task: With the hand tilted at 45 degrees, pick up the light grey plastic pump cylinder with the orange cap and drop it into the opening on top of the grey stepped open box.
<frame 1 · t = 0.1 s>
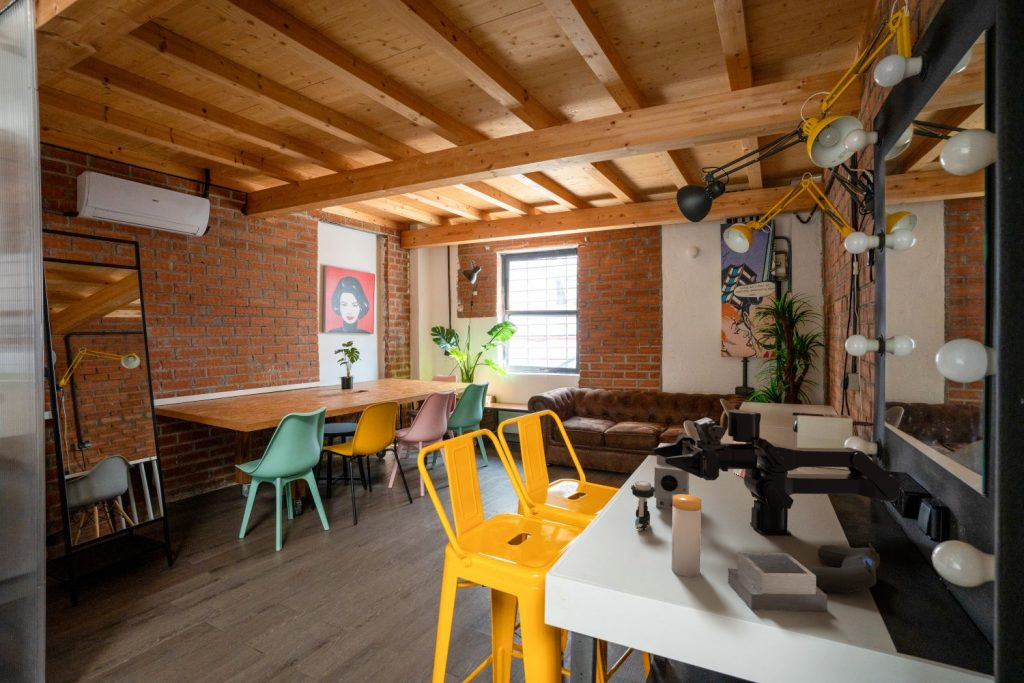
hand: (659, 455, 116), 17 cm above the table, tool horizontal, fingers open, 9 cm apart
gaming controller: (843, 582, 92), on the table
push button: (641, 529, 117), on the table
grey stepped open box: (774, 596, 86), on the table
pump: (685, 570, 96), on the table
circuit breaker: (671, 509, 131), on the table
ink cartridge box: (747, 477, 161), on the table
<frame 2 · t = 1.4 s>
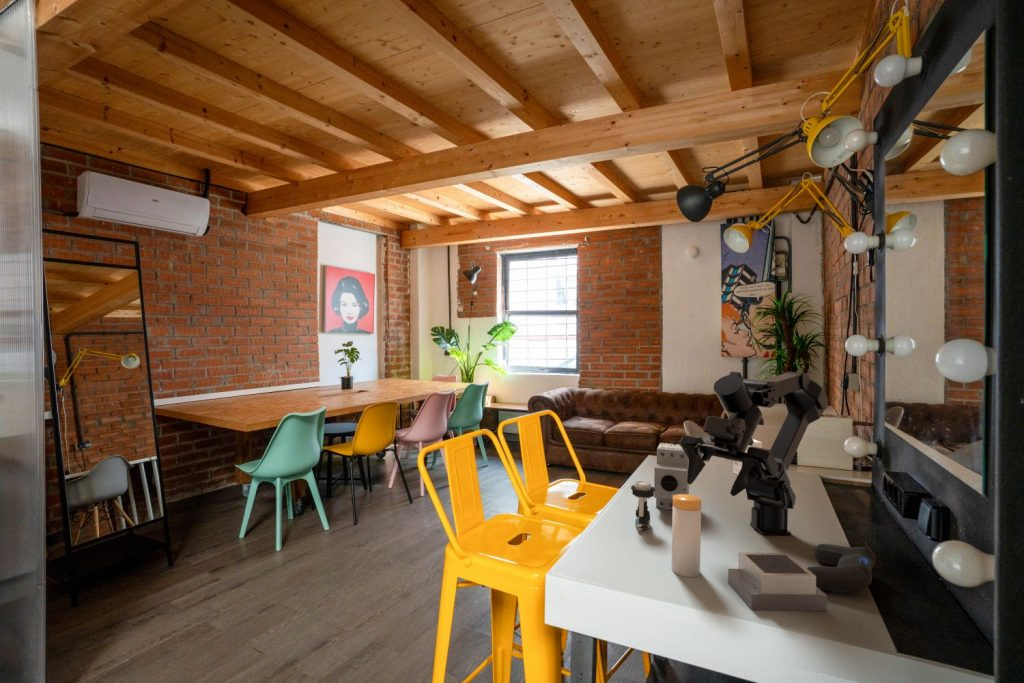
hand: (709, 488, 101), 14 cm above the table, tool tilted 45°, fingers open, 9 cm apart
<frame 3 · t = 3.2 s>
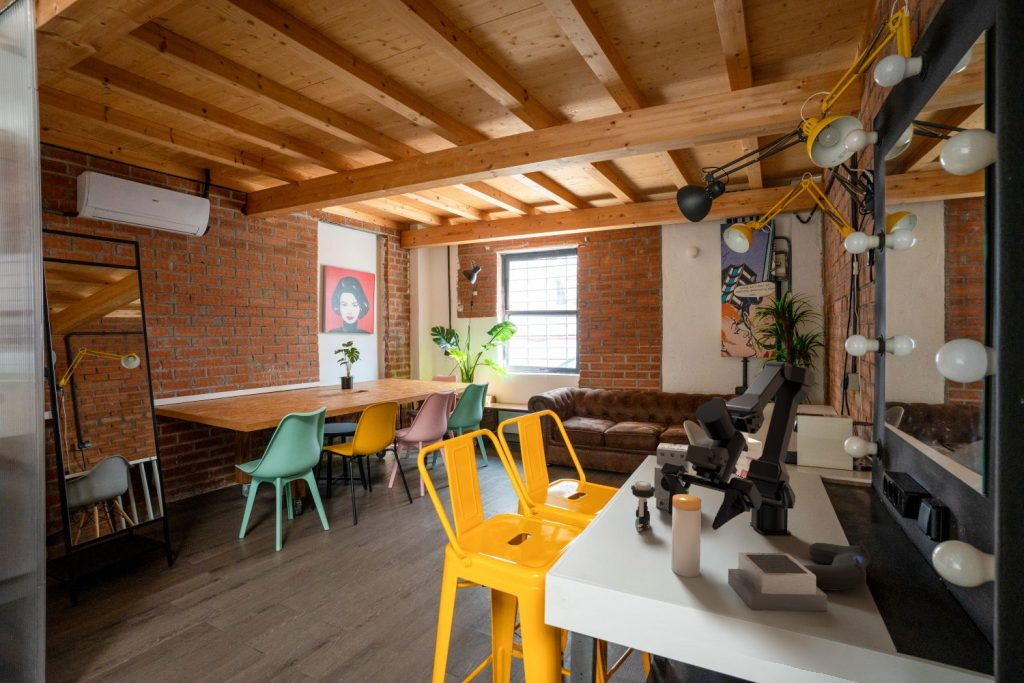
hand: (690, 521, 96), 9 cm above the table, tool tilted 45°, fingers open, 9 cm apart
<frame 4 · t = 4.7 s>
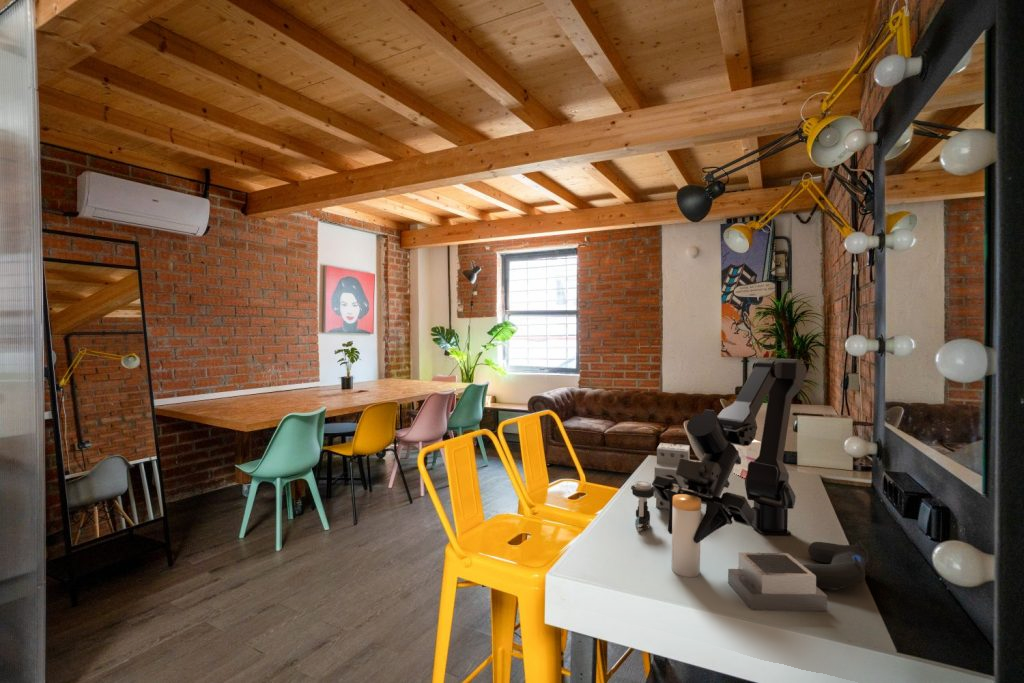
hand: (681, 537, 95), 7 cm above the table, tool tilted 45°, fingers closed on pump, 5 cm apart
pump: (685, 570, 96), on the table, touching gripper
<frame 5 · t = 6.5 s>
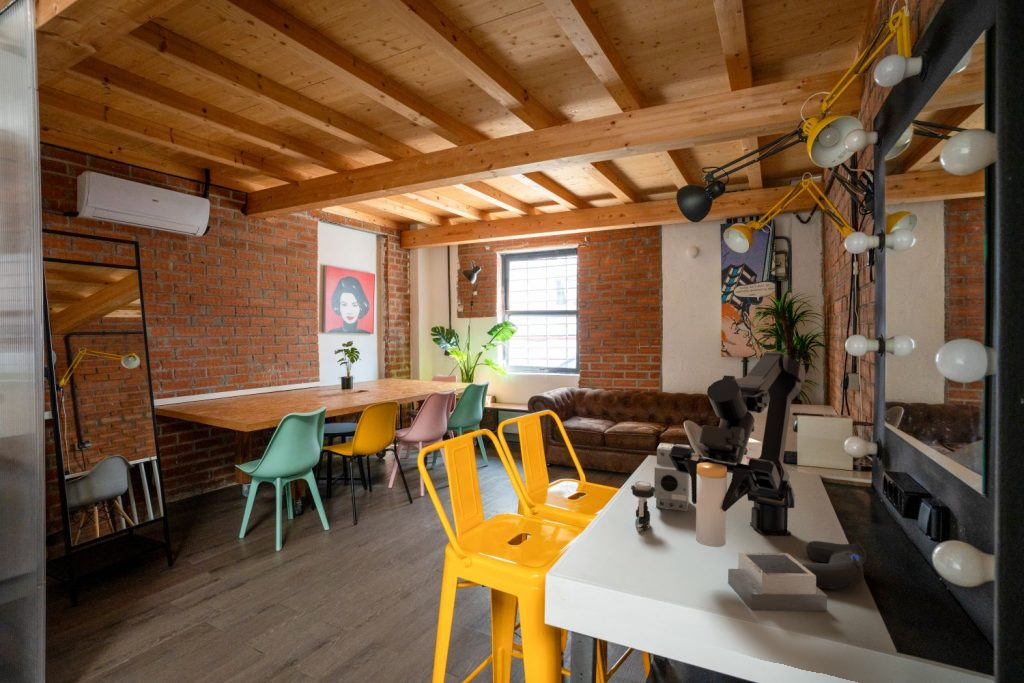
hand: (708, 506, 91), 13 cm above the table, tool tilted 45°, fingers closed on pump, 5 cm apart
pump: (710, 541, 92), point 7 cm above the table, touching gripper
when the fingers open (10 cm above the table, at t = 8.6 s): pump stays where it is, resting on grey stepped open box.
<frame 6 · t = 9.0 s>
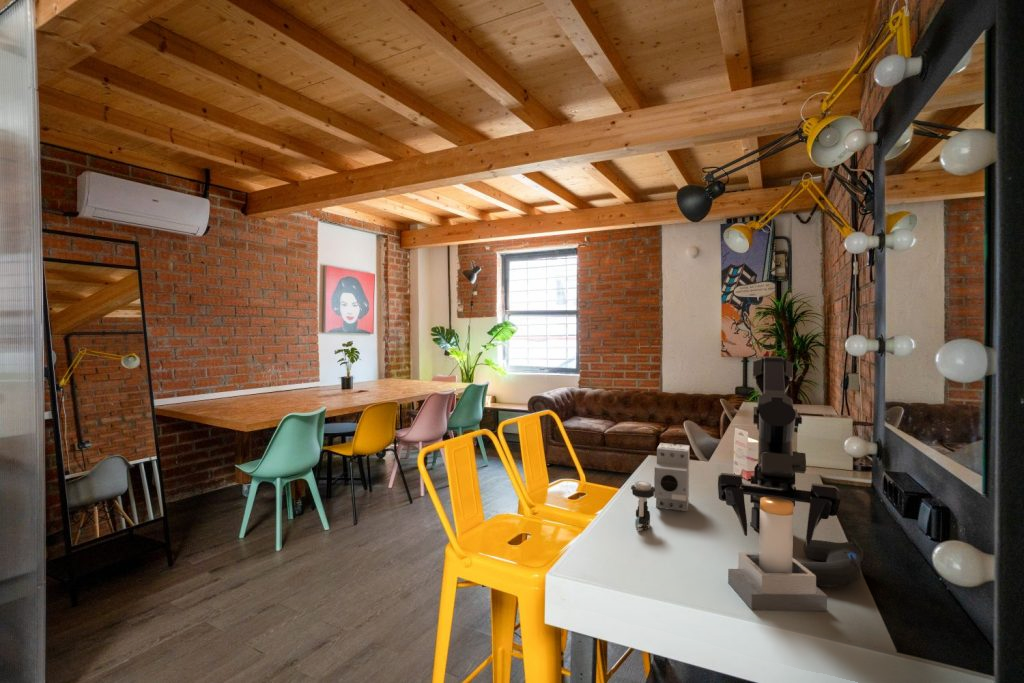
hand: (776, 539, 85), 10 cm above the table, tool tilted 45°, fingers open, 9 cm apart
pump: (775, 581, 86), point 2 cm above the table, touching grey stepped open box
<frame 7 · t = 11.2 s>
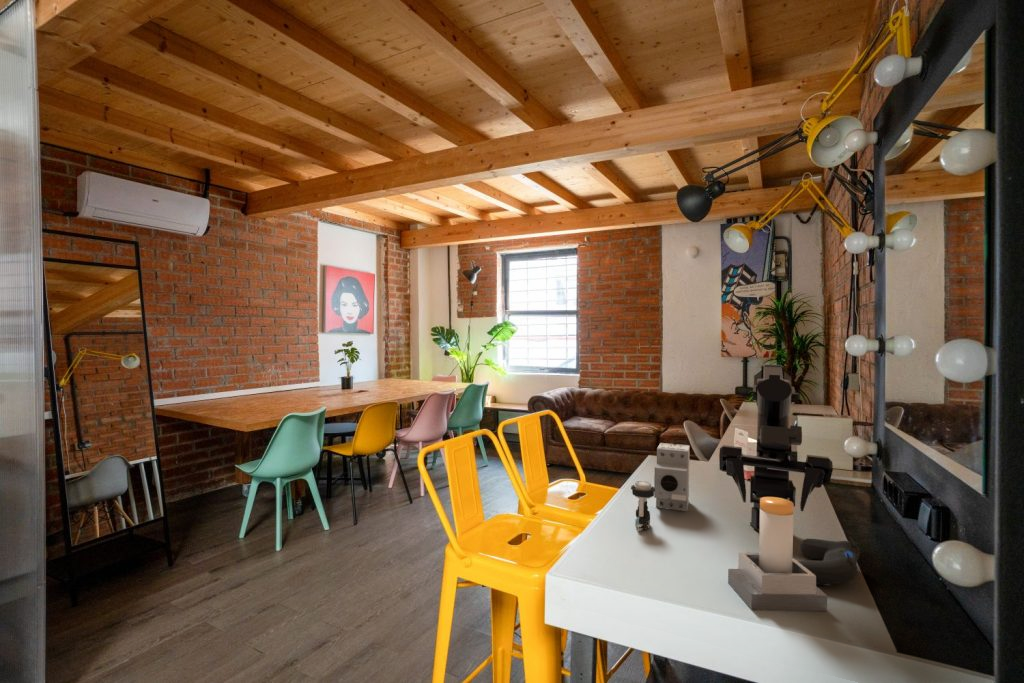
hand: (772, 505, 92), 13 cm above the table, tool tilted 45°, fingers open, 9 cm apart
gaming controller: (825, 575, 95), on the table, touching grey stepped open box
everything else where it was.
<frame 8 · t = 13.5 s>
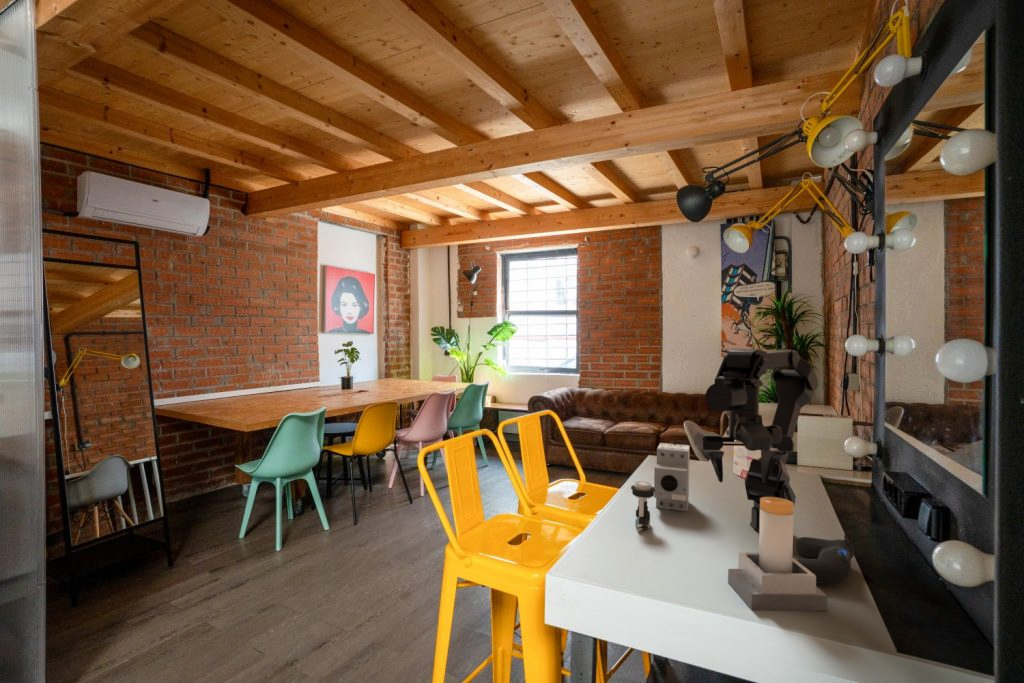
hand: (742, 482, 108), 13 cm above the table, tool pointing down, fingers open, 9 cm apart
gaming controller: (820, 573, 96), on the table
everything else where it was.
at the end: pump 0.0 cm off-centre on the grey stepped open box, point 2.5 cm above the grey stepped open box's base; pump tilted 0°; the gripper is holding nothing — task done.
